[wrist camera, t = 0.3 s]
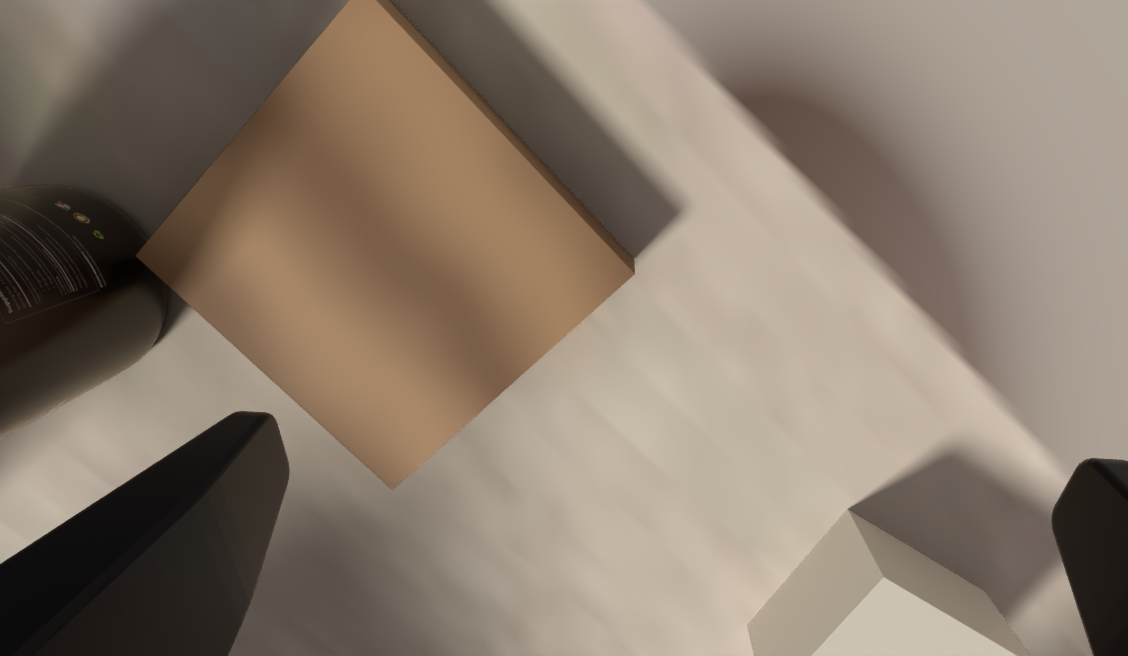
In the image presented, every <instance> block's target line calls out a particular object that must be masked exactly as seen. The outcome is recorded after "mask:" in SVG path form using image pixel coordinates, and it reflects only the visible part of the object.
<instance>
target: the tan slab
mask: <svg viewBox="0 0 1128 656" xmlns="http://www.w3.org/2000/svg"><path fill="white" fill-rule="evenodd" d="M136 257H137V258H138V259H140V260H141V261H142V262H143V263H144V264H145V265H146V266H147V267H148V268H149V269H151V270H152V271H153V272H154V273H155V274H156V275H157V276H158V277H159V278H160V279H161V280H163V281H164V282H165V283H166V284H167V285H168V286H169V287H170V288H171V289H172V290H174V291H175V292H176V293H177V294H178V295H179V296H180V297H181V298H182V299H183V300H184V301H186V302H187V303H188V304H189V305H190V306H191V307H192V308H193V309H194V310H195V311H197V312H198V313H199V314H200V315H201V316H202V317H203V318H204V319H205V320H206V321H207V322H209V323H210V324H211V325H212V326H213V327H214V328H215V329H216V330H217V331H218V332H220V333H221V334H222V335H223V336H224V337H225V338H226V339H227V340H228V341H229V342H230V343H232V344H233V345H234V346H235V347H236V348H237V349H238V350H239V351H240V352H241V353H243V354H244V355H245V356H246V357H247V358H248V359H249V360H250V361H251V362H252V363H253V364H255V365H256V366H257V367H258V368H259V369H260V370H261V371H262V372H263V373H264V374H266V375H267V376H268V377H269V378H270V379H271V380H272V381H273V382H274V383H275V384H277V385H278V386H279V387H280V388H281V389H282V390H283V391H284V392H285V393H286V394H287V395H289V396H290V397H291V398H292V399H293V400H294V401H295V402H296V403H297V404H298V405H300V406H301V407H302V408H303V409H304V410H305V411H306V412H307V413H308V414H309V415H310V416H312V417H313V418H314V419H315V420H316V421H317V422H318V423H319V424H320V425H321V426H323V427H324V428H325V429H326V430H327V431H328V432H329V433H330V434H331V435H332V436H333V437H335V438H336V439H337V440H338V441H339V442H340V443H341V444H342V445H343V446H344V447H346V448H347V449H348V450H349V451H350V452H351V453H352V454H353V455H354V456H355V457H356V458H358V459H359V460H360V461H361V462H362V463H363V464H364V465H365V466H366V467H367V468H369V469H370V470H371V471H372V472H373V473H374V474H375V475H376V476H377V477H378V478H379V479H381V480H382V481H383V482H384V483H385V484H386V485H387V486H388V487H389V488H390V489H392V490H393V489H394V488H396V487H397V486H398V485H399V484H400V483H401V482H402V481H403V480H404V479H406V478H407V477H408V476H409V475H410V474H411V473H412V472H413V471H415V470H416V469H417V468H418V467H419V466H420V465H421V464H422V463H424V462H425V461H426V460H427V459H428V458H429V457H430V456H431V455H432V454H434V453H435V452H436V451H437V450H438V449H439V448H440V447H441V446H443V445H444V444H445V443H446V442H447V441H448V440H449V439H450V438H452V437H453V436H454V435H455V434H456V433H457V432H458V431H459V430H461V429H462V428H463V427H464V426H465V425H466V424H467V423H468V422H469V421H471V420H472V419H473V418H474V417H475V416H476V415H477V414H478V413H480V412H481V411H482V410H483V409H484V408H485V407H486V406H487V405H489V404H490V403H491V402H492V401H493V400H494V399H495V398H496V397H497V396H499V395H500V394H501V393H502V392H503V391H504V390H505V389H506V388H508V387H509V386H510V385H511V384H512V383H513V382H514V381H515V380H517V379H518V378H519V377H520V376H521V375H522V374H523V373H524V372H525V371H527V370H528V369H529V368H530V367H531V366H532V365H533V364H534V363H536V362H537V361H538V360H539V359H540V358H541V357H542V356H543V355H545V354H546V353H547V352H548V351H549V350H550V349H551V348H552V347H553V346H555V345H556V344H557V343H558V342H559V341H560V340H561V339H562V338H564V337H565V336H566V335H567V334H568V333H569V332H570V331H571V330H573V329H574V328H575V327H576V326H577V325H578V324H579V323H580V322H582V321H583V320H584V319H585V318H586V317H587V316H588V315H589V314H590V313H592V312H593V311H594V310H595V309H596V308H597V307H598V306H599V305H601V304H602V303H603V302H604V301H605V300H606V299H607V298H608V297H610V296H611V295H612V294H613V293H614V292H615V291H616V290H617V289H618V288H620V287H621V286H622V285H623V284H624V283H625V282H626V281H627V280H629V279H630V278H631V277H632V276H633V275H634V274H635V268H634V259H633V258H632V257H631V256H630V255H629V254H628V253H627V251H626V250H625V249H624V248H623V247H622V246H621V245H620V244H619V243H618V242H617V241H616V240H615V239H614V238H613V237H612V236H611V234H610V233H609V232H608V231H607V230H606V229H605V228H604V227H603V226H602V225H601V224H600V223H599V222H598V221H597V220H596V219H595V217H594V216H593V215H592V214H591V213H590V212H589V211H588V210H587V209H586V208H585V207H584V206H583V205H582V204H581V203H580V202H579V200H578V199H577V198H576V197H575V196H574V195H573V194H572V193H571V192H570V191H569V190H568V189H567V188H566V187H565V186H564V185H563V183H562V182H561V181H560V180H559V179H558V178H557V177H556V176H555V175H554V174H553V173H552V172H551V171H550V170H549V169H548V168H547V166H546V165H545V164H544V163H543V162H542V161H541V160H540V159H539V158H538V157H537V156H536V155H535V154H534V153H533V152H532V151H531V149H530V148H529V147H528V146H527V145H526V144H525V143H524V142H523V141H522V140H521V139H520V138H519V137H518V136H517V135H516V134H515V132H514V131H513V130H512V129H511V128H510V127H509V126H508V125H507V124H506V123H505V122H504V121H503V120H502V119H501V118H500V117H499V115H498V114H497V113H496V112H495V111H494V110H493V109H492V108H491V107H490V106H489V105H488V104H487V103H486V102H485V101H484V100H483V98H482V97H481V96H480V95H479V94H478V93H477V92H476V91H475V90H474V89H473V88H472V87H471V86H470V85H469V84H468V83H467V81H466V80H465V79H464V78H463V77H462V76H461V75H460V74H459V73H458V72H457V71H456V70H455V69H454V68H453V67H452V66H451V64H450V63H449V62H448V61H447V60H446V59H445V58H444V57H443V56H442V55H441V54H440V53H439V52H438V51H437V50H436V49H435V47H434V46H433V45H432V44H431V43H430V42H429V41H428V40H427V39H426V38H425V37H424V36H423V35H422V34H421V33H420V32H419V30H418V29H417V28H416V27H415V26H414V25H413V24H412V23H411V22H410V21H409V20H408V19H407V18H406V17H405V16H404V15H403V13H402V12H401V11H400V10H399V9H398V8H397V7H396V6H395V5H394V4H393V3H392V2H391V1H390V0H349V1H348V2H347V3H346V5H345V6H344V7H343V8H342V9H341V11H340V12H339V13H338V14H337V15H336V17H335V18H334V19H333V20H332V21H331V23H330V24H329V25H328V26H327V27H326V29H325V30H324V31H323V32H322V33H321V35H320V36H319V37H318V38H317V39H316V41H315V42H314V43H313V44H312V45H311V46H310V48H309V49H308V50H307V51H306V52H305V54H304V55H303V56H302V57H301V58H300V60H299V61H298V62H297V63H296V64H295V66H294V67H293V68H292V69H291V70H290V72H289V73H288V74H287V75H286V76H285V78H284V79H283V80H282V81H281V82H280V84H279V85H278V86H277V87H276V88H275V90H274V91H273V92H272V93H271V94H270V95H269V97H268V98H267V99H266V100H265V101H264V103H263V104H262V105H261V106H260V107H259V109H258V110H257V111H256V112H255V113H254V115H253V116H252V117H251V118H250V119H249V121H248V122H247V123H246V124H245V125H244V127H243V128H242V129H241V130H240V131H239V133H238V134H237V135H236V136H235V137H234V138H233V140H232V141H231V142H230V143H229V144H228V146H227V147H226V148H225V149H224V150H223V152H222V153H221V154H220V155H219V156H218V158H217V159H216V160H215V161H214V162H213V164H212V165H211V166H210V167H209V168H208V170H207V171H206V172H205V173H204V174H203V176H202V177H201V178H200V179H199V180H198V182H197V183H196V184H195V185H194V186H193V187H192V189H191V190H190V191H189V192H188V193H187V195H186V196H185V197H184V198H183V199H182V201H181V202H180V203H179V204H178V205H177V207H176V208H175V209H174V210H173V211H172V213H171V214H170V215H169V216H168V217H167V219H166V220H165V221H164V222H163V223H162V225H161V226H160V227H159V228H158V229H157V231H156V232H155V233H154V234H153V235H152V236H151V238H150V239H149V240H148V241H147V242H146V244H145V245H144V246H143V247H142V248H141V250H140V251H139V252H138V253H137V254H136Z"/></svg>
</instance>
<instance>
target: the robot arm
mask: <svg viewBox="0 0 1128 656" xmlns="http://www.w3.org/2000/svg"><path fill="white" fill-rule="evenodd" d="M288 480H289V462H288V458H287V455H286V452H285V448H284V445H283V441H282V438H281V434H280V431H279V427H278V424H277V421H276V419H275V418H274V417H273V415H271V414H269V413H266V412H248V411H239V412H235V413H232V414H231V415H229V416H227V417H226V418H224V419H223V420H221V421H220V422H218V423H216V424H215V425H213V426H212V427H210V428H209V429H207V430H206V431H204V432H203V433H201V434H200V435H198V436H196V437H195V438H193V439H192V440H190V441H189V442H187V443H186V444H184V445H183V446H181V447H180V448H178V449H176V450H175V451H173V452H172V453H170V454H169V455H167V456H166V457H164V458H163V459H161V460H160V461H158V462H156V463H155V464H153V465H152V466H150V467H149V468H147V469H146V470H144V471H143V472H141V473H140V474H138V475H136V476H135V477H133V478H132V479H130V480H129V481H127V482H126V483H124V484H123V485H121V486H120V487H118V488H116V489H115V490H113V491H112V492H110V493H109V494H107V495H106V496H104V497H103V498H101V499H100V500H98V501H96V502H95V503H93V504H92V505H90V506H89V507H87V508H86V509H84V510H83V511H81V512H80V513H78V514H76V515H75V516H73V517H72V518H70V519H69V520H67V521H66V522H64V523H63V524H61V525H60V526H58V527H56V528H55V529H53V530H52V531H50V532H49V533H47V534H46V535H44V536H43V537H41V538H40V539H38V540H36V541H35V542H33V543H32V544H30V545H29V546H27V547H26V548H24V549H23V550H21V551H20V552H18V553H16V554H15V555H13V556H12V557H10V558H9V559H7V560H6V561H4V562H3V563H1V564H0V656H228V655H229V652H230V650H231V648H232V645H233V643H234V641H235V639H236V636H237V634H238V632H239V629H240V627H241V625H242V622H243V620H244V617H245V615H246V612H247V610H248V607H249V605H250V602H251V599H252V597H253V594H254V591H255V588H256V585H257V582H258V578H259V575H260V572H261V569H262V565H263V562H264V559H265V556H266V552H267V549H268V546H269V543H270V540H271V536H272V533H273V530H274V527H275V523H276V520H277V517H278V514H279V510H280V507H281V504H282V501H283V497H284V494H285V491H286V488H287V484H288ZM1052 529H1053V533H1054V536H1055V539H1056V543H1057V546H1058V549H1059V552H1060V555H1061V558H1062V561H1063V564H1064V567H1065V570H1066V574H1067V577H1068V580H1069V583H1070V586H1071V589H1072V592H1073V595H1074V598H1075V601H1076V605H1077V608H1078V611H1079V614H1080V617H1081V620H1082V623H1083V626H1084V629H1085V632H1086V635H1087V639H1088V642H1089V644H1090V647H1091V650H1092V653H1093V655H1094V656H1128V461H1125V460H1116V459H1115V460H1114V459H1098V458H1090V459H1086V460H1084V461H1083V462H1081V463H1080V464H1079V465H1078V466H1077V468H1076V469H1075V471H1074V473H1073V474H1072V476H1071V478H1070V480H1069V481H1068V483H1067V485H1066V487H1065V488H1064V490H1063V492H1062V494H1061V496H1060V497H1059V499H1058V501H1057V503H1056V504H1055V506H1054V509H1053V513H1052Z"/></svg>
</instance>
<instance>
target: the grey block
mask: <svg viewBox="0 0 1128 656" xmlns="http://www.w3.org/2000/svg"><path fill="white" fill-rule="evenodd" d="M747 627H748V632H749V636H750V641H751V645H752V649H753V654H754V656H1031V655H1030V654H1029V652H1028V651H1027V650H1026V648H1025V647H1024V645H1023V644H1022V643H1021V641H1020V640H1019V638H1018V637H1017V636H1016V634H1015V633H1014V632H1013V630H1012V629H1011V627H1010V626H1009V625H1008V623H1007V622H1006V620H1005V619H1004V618H1003V616H1002V615H1001V614H1000V612H999V611H998V609H997V608H996V607H995V605H994V604H993V602H992V601H991V600H990V598H989V597H988V596H987V594H986V593H985V591H983V590H982V589H980V588H978V587H977V586H975V585H973V584H972V583H970V582H968V581H967V580H965V579H963V578H962V577H960V576H958V575H957V574H955V573H953V572H952V571H950V570H948V569H947V568H945V567H943V566H942V565H940V564H938V563H937V562H935V561H933V560H932V559H930V558H928V557H927V556H925V555H923V554H922V553H920V552H918V551H917V550H915V549H913V548H912V547H910V546H908V545H907V544H905V543H903V542H902V541H900V540H898V539H897V538H895V537H893V536H892V535H890V534H888V533H886V532H885V531H883V530H881V529H880V528H878V527H876V526H875V525H873V524H871V523H870V522H868V521H866V520H865V519H863V518H861V517H860V516H858V515H856V514H855V513H853V512H851V511H850V510H848V509H847V510H846V511H845V512H844V514H843V515H842V516H841V517H840V518H839V519H838V520H837V522H836V523H835V524H834V525H833V526H832V527H831V529H830V530H829V531H828V532H827V533H826V534H825V536H824V537H823V538H822V539H821V540H820V541H819V542H818V544H817V545H816V546H815V547H814V548H813V549H812V551H811V552H810V553H809V554H808V555H807V556H806V558H805V559H804V560H803V561H802V562H801V563H800V564H799V566H798V567H797V568H796V569H795V570H794V571H793V573H792V574H791V575H790V576H789V577H788V578H787V579H786V581H785V582H784V583H783V584H782V585H781V586H780V588H779V589H778V590H777V591H776V592H775V593H774V595H773V596H772V597H771V598H770V599H769V600H768V601H767V603H766V604H765V605H764V606H763V607H762V608H761V610H760V611H759V612H758V613H757V614H756V615H755V617H754V618H753V619H752V620H751V621H750V622H749V623H748V625H747Z"/></svg>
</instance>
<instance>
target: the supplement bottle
mask: <svg viewBox="0 0 1128 656" xmlns="http://www.w3.org/2000/svg"><path fill="white" fill-rule="evenodd" d="M147 241H148V240H147V238H146V237H145V236H144V234H143V233H142V232H141V231H140V229H139V228H138V227H137V226H136V225H135V224H134V223H133V222H132V221H131V220H130V219H129V218H128V217H127V216H126V215H125V214H123V213H122V212H121V211H120V210H118V209H117V208H116V207H114V206H112V205H111V204H109V203H108V202H106V201H104V200H103V199H101V198H99V197H97V196H95V195H92V194H90V193H88V192H85V191H82V190H79V189H75V188H70V187H66V186H59V185H34V186H25V187H17V188H8V189H1V190H0V439H2V438H3V437H5V436H7V435H9V434H11V433H13V432H14V431H16V430H18V429H20V428H22V427H23V426H25V425H27V424H29V423H31V422H32V421H34V420H36V419H38V418H40V417H41V416H43V415H45V414H47V413H49V412H50V411H52V410H54V409H56V408H58V407H60V406H61V405H63V404H65V403H67V402H69V401H70V400H72V399H74V398H76V397H78V396H79V395H81V394H83V393H85V392H87V391H88V390H90V389H92V388H94V387H96V386H97V385H99V384H101V383H103V382H105V381H106V380H108V379H110V378H112V377H113V376H115V375H117V374H119V373H120V372H122V371H124V370H125V369H127V368H129V367H130V366H132V365H133V364H134V363H136V362H137V361H139V360H140V359H141V358H142V357H143V356H144V355H145V354H146V353H147V352H148V351H149V350H150V348H151V347H152V345H153V344H154V343H155V341H156V339H157V338H158V336H159V334H160V331H161V329H162V326H163V323H164V319H165V314H166V308H167V291H166V284H165V282H164V281H163V280H161V279H160V278H159V277H158V276H157V275H156V274H155V273H154V272H153V271H152V270H151V269H149V268H148V267H147V266H146V265H145V264H144V263H143V262H142V261H141V260H140V259H138V258H137V257H136V254H137V253H138V252H139V251H140V250H141V248H142V247H143V246H144V245H145V244H146V242H147Z"/></svg>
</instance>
